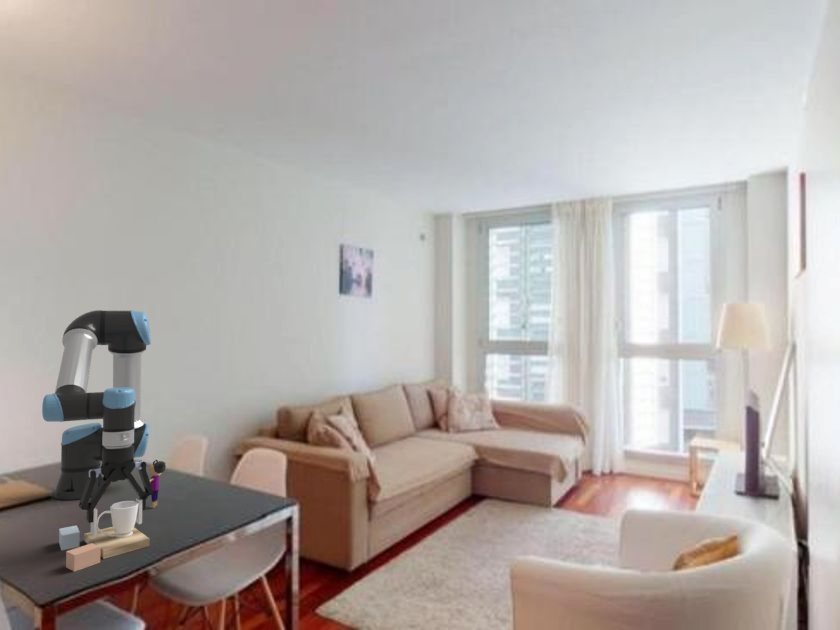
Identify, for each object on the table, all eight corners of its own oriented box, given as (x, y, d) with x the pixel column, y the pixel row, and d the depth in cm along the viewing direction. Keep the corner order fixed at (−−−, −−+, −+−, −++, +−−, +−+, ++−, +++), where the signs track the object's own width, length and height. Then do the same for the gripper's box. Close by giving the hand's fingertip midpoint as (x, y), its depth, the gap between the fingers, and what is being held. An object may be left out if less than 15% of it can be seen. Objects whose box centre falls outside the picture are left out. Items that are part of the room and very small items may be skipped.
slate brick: (59, 543, 145) (59, 528, 145) (76, 540, 148) (76, 525, 148) (61, 551, 141) (61, 535, 141) (79, 547, 143) (79, 532, 143)
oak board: (84, 540, 147) (84, 533, 147) (127, 529, 155) (128, 522, 155) (103, 558, 136) (103, 550, 136) (149, 546, 144) (149, 538, 144)
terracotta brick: (74, 572, 129) (74, 555, 129) (65, 567, 131) (66, 551, 131) (100, 562, 134) (100, 546, 134) (91, 559, 136) (92, 543, 136)
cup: (140, 536, 145) (140, 506, 146) (96, 544, 140) (97, 512, 140) (137, 527, 151) (137, 498, 151) (95, 535, 146) (96, 504, 146)
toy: (155, 501, 179) (155, 456, 179) (172, 501, 180) (173, 456, 180) (141, 512, 169) (142, 464, 169) (159, 512, 169) (160, 464, 170)
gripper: (73, 455, 135) (71, 544, 135) (167, 441, 152) (166, 520, 151) (65, 450, 140) (63, 536, 140) (156, 437, 157) (155, 513, 156)
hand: (116, 528), depth 145 cm, fingers open, 10 cm apart
